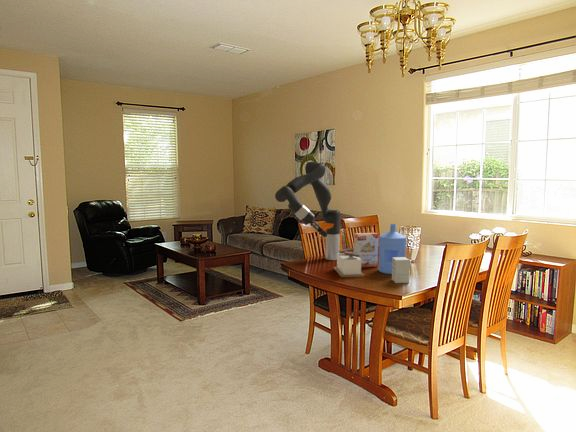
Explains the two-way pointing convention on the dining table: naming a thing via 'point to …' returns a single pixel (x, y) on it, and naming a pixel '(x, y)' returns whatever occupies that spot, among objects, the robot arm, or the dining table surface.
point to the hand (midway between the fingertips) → (326, 236)
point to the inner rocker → (346, 250)
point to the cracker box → (366, 248)
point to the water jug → (390, 249)
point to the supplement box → (400, 269)
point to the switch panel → (348, 266)
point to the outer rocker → (351, 254)
